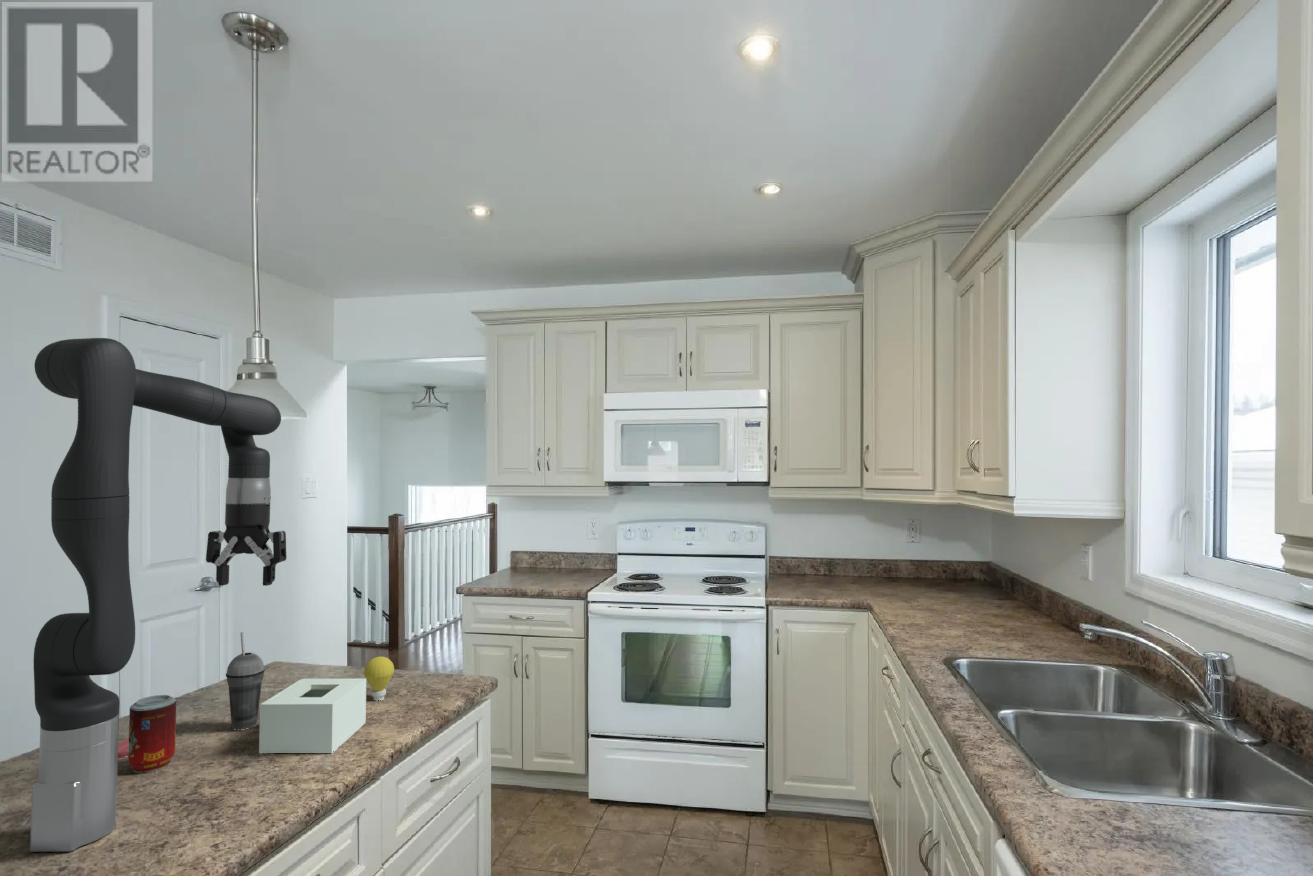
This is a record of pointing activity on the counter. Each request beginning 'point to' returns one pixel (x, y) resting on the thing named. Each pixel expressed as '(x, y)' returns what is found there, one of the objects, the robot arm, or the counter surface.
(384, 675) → the light bulb
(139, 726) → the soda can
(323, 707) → the box
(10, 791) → the counter surface
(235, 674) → the beverage cup
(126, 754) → the popsicle
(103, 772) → the robot arm
